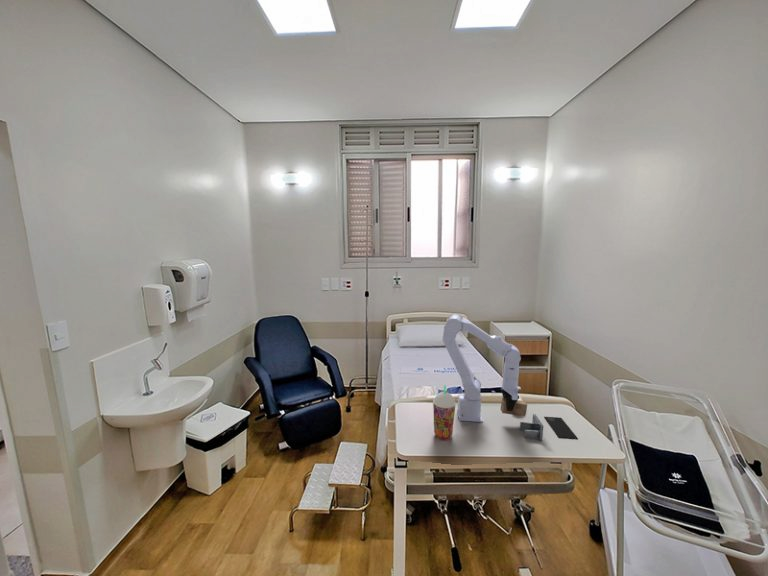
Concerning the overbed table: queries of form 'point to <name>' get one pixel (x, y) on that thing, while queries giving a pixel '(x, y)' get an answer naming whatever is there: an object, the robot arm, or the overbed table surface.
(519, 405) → the brown rectangular block
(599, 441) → the overbed table surface
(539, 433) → the bracket
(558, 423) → the smartphone
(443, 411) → the smoothie
